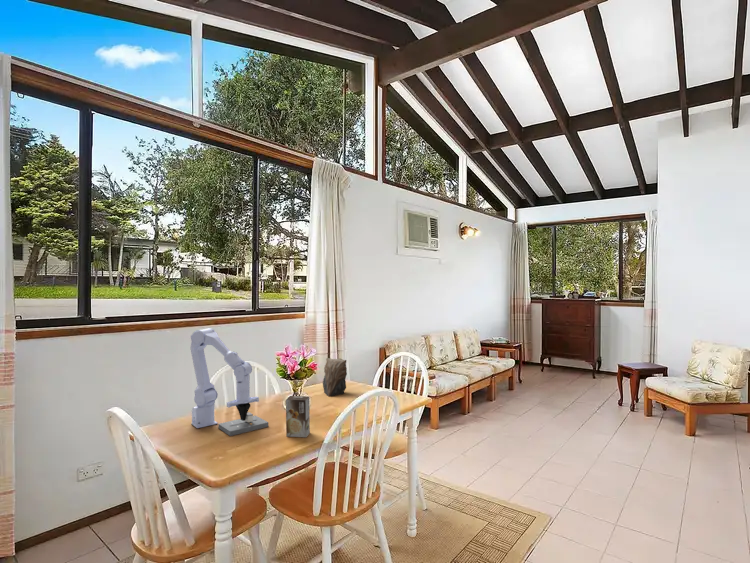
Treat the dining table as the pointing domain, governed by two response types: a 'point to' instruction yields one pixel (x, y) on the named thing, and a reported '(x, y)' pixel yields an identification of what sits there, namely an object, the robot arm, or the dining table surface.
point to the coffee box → (297, 416)
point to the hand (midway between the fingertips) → (243, 420)
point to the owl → (334, 377)
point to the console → (242, 426)
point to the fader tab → (249, 417)
